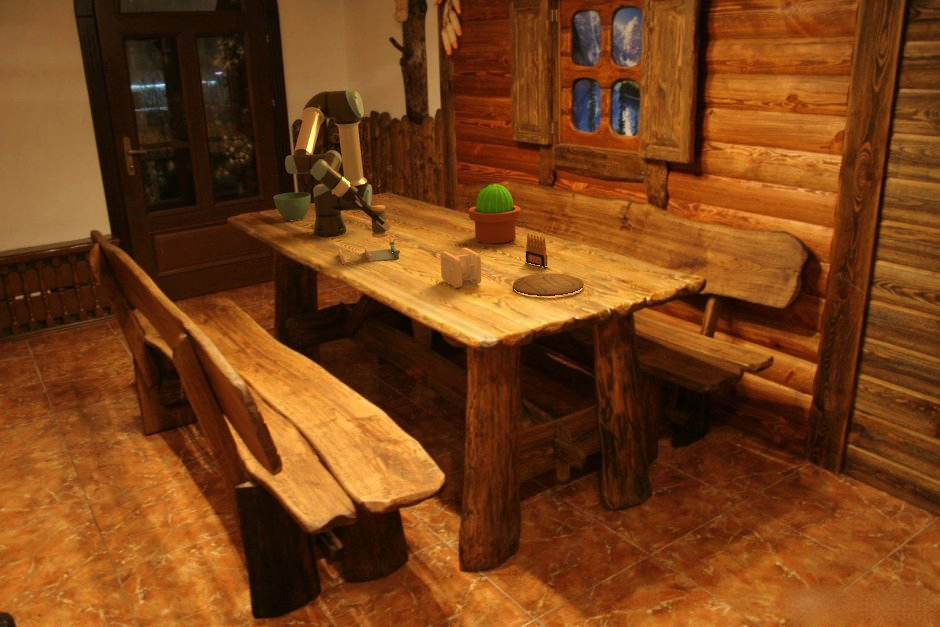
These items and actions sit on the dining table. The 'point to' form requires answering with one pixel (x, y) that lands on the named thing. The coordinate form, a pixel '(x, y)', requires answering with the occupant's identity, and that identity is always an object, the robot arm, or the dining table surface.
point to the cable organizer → (461, 267)
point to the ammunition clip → (536, 251)
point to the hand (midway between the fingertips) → (388, 226)
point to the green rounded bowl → (292, 205)
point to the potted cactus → (494, 215)
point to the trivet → (548, 284)
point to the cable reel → (376, 228)
